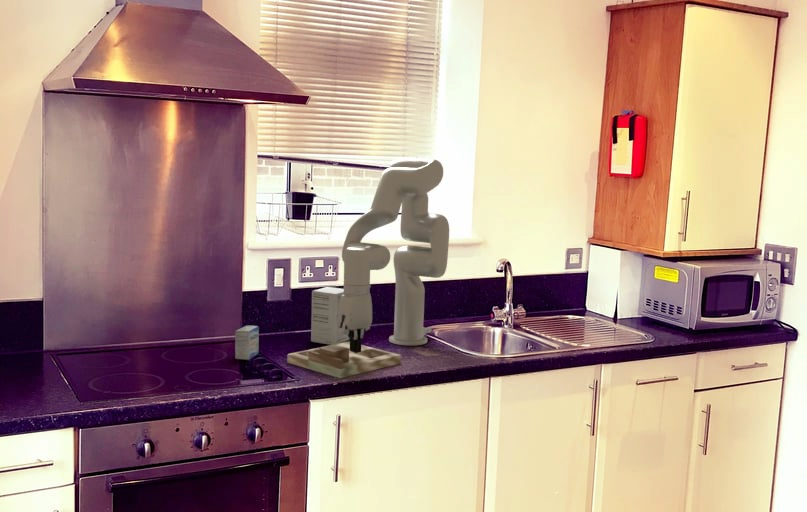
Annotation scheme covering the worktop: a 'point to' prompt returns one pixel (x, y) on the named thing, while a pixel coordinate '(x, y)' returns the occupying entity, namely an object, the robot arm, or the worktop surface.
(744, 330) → the worktop surface
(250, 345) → the medicine box
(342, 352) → the walnut block
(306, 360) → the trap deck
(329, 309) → the supplement box
